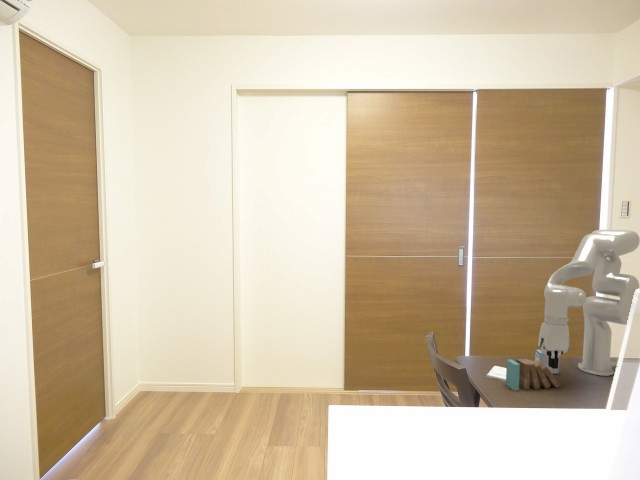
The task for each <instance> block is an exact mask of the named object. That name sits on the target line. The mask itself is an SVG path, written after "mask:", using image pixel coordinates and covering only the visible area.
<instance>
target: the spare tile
mask: <svg viewBox="0 0 640 480" xmlns="http://www.w3.org/2000/svg"><path fill="white" fill-rule="evenodd" d="M506 368H507V369H506V381H505V386H507V387H508V388H510V389H511V390H512V391H515V392H516V391H519V389H520V387H519V372H520V364H518V363H517V362H516V360H513V359H512V358H511V359H506Z"/></svg>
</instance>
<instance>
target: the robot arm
mask: <svg viewBox="0 0 640 480" xmlns="http://www.w3.org/2000/svg"><path fill="white" fill-rule="evenodd" d="M639 246H640V236H639V234H638V233H637V232H635V231H634V230H622V229H621V230H619V229H617V230H616V229H596V230H594V231H592V232H591V233H588V234H586V235H584V236H583V238H582V239H581V241H580V243H579V245H578V247H577V249H576V251H575V253H574V256H573V257H572V259H571V260H570V262H569V263H567V264H565V265H563V266H561V267H560V268H559V269H557V270H556V271H554V272H553V273H552V274H551V276H550V277H549V279H548V281H547V283H546V285H545V286H544V287H545V288H544V291H543V295H544V299H545V301H544V318H543V319H544V321H543V322H542V323H541V325H540V330H539V332H538V333H539V335H538V343H537V345H538V347H539V348H540V349H539V350H540V352H542V353H545V354H547V356H548V357H549V359H548V366H549V367H551V368H553V369H555V368H556V369H558V360H559V361H560V359H561V356H562V355H563V354H566V353H568V351H569V348H570V331H569V330H570V328H569V325H568V322H569V321H570V317H568V309H569V308H579V307H582V312H583V318H584V319H583V320H584V330H583V348H582V362H578V364H577V368H578V369H579V370H580V371H583V372H585V373H587V374H591V375H594V376H596V375H597V376H602V377H604V376H605V377H610V375H611V376H613V375H614V374H615V370H614V369H613V367H614V368H615V367H617V366H616V364H617V362H618V361H612V360H611V348H612V334H613V333H612V328H611V327H610V324H609V323H613V324H614V323H615V324H618V325H628V324H627V320H628V316H629V312H630V308H631V304H632V299H633V295H634V292H635V290H636V289H638V288H639V289H640V282H639V280H638V278H637V277H635V275H632V274H624V273H621V268H622V264H623V263H622V260H621V258H620V256H624V255H627V254H629V253H633V252H634V251H635V250H637V249H638V247H639ZM593 273H594V275H593V279H592V285H591V286H592V287H591V288H592V290H593V292H595V293H598V294H600V295H601V294H602V295H605V296H610V297H611V296H612V297H619V299H616V298H610V297H605V296H598V295H597V296H596V295H591V296H588V297H587V294H586V292H585V291H584V290H583V289H582V288H579V287H574V286H568V285H563V284H564V283H565V282H566V281H568V280H572V279H573V278H579V277H583V276H587V275H591V274H593Z"/></svg>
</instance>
